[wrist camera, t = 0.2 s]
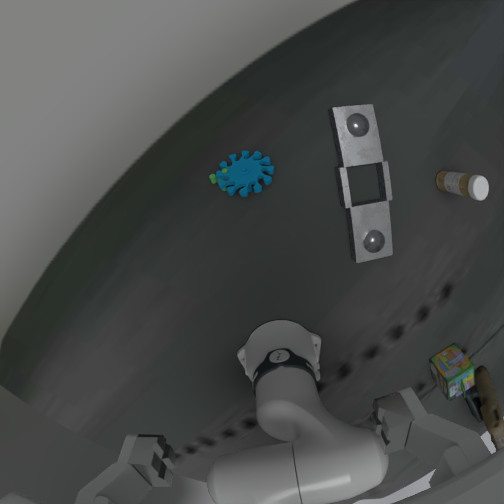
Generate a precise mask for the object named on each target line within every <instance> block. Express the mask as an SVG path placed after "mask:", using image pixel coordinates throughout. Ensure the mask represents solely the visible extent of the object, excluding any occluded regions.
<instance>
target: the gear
mask: <svg viewBox="0 0 504 504" xmlns="http://www.w3.org/2000/svg"><path fill="white" fill-rule="evenodd" d="M249 156H250V154H249V151H242V157H241V158H240V160H239V161H236V160H237V156H236V154H232V155H229V158H230V161H231V162H232V165H231V166H228V165H227V162H226V161H223V162H221V163H220V164H219V165H220V168H221V169H222V171H217V173H216V175H215V174H211V175H210V176H209V177H210V180H211V182H212V183H216V182H217V184H219V187H220V189H222V190H223V191H226V190H227V193H228V194H229V195H231V196H232V195H234V194H235V192H236V190H237V189H239V188H241V187H243V186H244V188H242V189H241V190H240V191H239V192H240V196H243V197H247V196H248V192H251V191H252V186H251V185H252V184H255V185H254V187H253V188H254V192H255V193H258V192H261V191H262V187H261V185H260V184H259V183H258V180H259V179H261V178H262V179H264V183H265V184H266V185H268V184H270V183H271V182H272V178H271V176H267V175H265V174H263V173H262V172H263V171H267V172H268V173H269V174H273V173H274V166H262V165H261V164H265V165H270V164H271V162H270V158H269V157H268V156H267V157H265V158H263V159H261V158H262V154H261V153H260V152H258V151H256V152H255V153H254V154H253V156H251V157H250V158H248V157H249ZM246 158H248V159H246ZM256 159H261V160H256ZM229 185H235V186H231V187H228V188H227V189H226V187H227V186H229Z"/></svg>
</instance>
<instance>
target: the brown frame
mask: <svg viewBox="0 0 504 504" xmlns="http://www.w3.org/2000/svg"><path fill="white" fill-rule="evenodd" d="M474 376H475V377H474V378H475V382H474V385H475V386H472V387H471V388H469V389H468V390H466V391H465V400H466V402H467V404H468V406H469V408H470V410H471V412H472V415H473V416H475V417H476V419H477V421H478V422H482V421H483V420H484V423H485V426H486V428H487V431H488V432H489V433H490V435H491V441H492V442H493V444H494V445H495V448H496V451H498V450H499V449H501V448H502V447H503V446H504V420H503V415H502V413H501V410H500V407H499V404H498V399H497V396H496V393H495V390H494V387H493V384H492V381H491V378H490V376H489V372H488V371H487V369H486V368H484V367H482V366H481V367H479V368H477V369H476V370H475V372H474ZM462 395H463V393H462ZM463 396H464V395H463Z"/></svg>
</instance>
